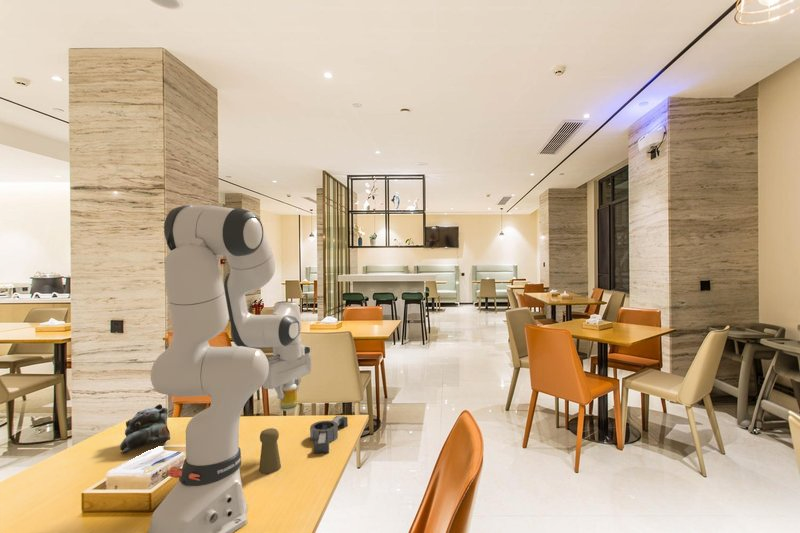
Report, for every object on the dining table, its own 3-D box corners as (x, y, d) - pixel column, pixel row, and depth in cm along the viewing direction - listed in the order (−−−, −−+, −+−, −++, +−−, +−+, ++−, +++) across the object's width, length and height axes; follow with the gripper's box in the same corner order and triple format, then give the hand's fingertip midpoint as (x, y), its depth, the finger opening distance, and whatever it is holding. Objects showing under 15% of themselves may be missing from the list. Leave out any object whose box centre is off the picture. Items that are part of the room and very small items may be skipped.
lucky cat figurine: (109, 457, 121) (110, 411, 127) (137, 455, 132) (137, 414, 138) (155, 442, 121) (154, 397, 127) (180, 441, 132) (178, 400, 138)
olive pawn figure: (274, 474, 108) (273, 434, 108) (254, 472, 109) (253, 433, 110) (284, 464, 114) (284, 426, 114) (266, 462, 115) (265, 425, 116)
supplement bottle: (277, 408, 125) (276, 378, 125) (292, 404, 128) (292, 375, 128) (283, 412, 121) (283, 381, 121) (300, 408, 124) (299, 378, 124)
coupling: (324, 456, 118) (324, 442, 119) (292, 449, 123) (291, 437, 123) (361, 427, 140) (360, 416, 140) (331, 423, 144) (331, 412, 144)
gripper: (273, 359, 114) (273, 406, 114) (314, 346, 133) (315, 387, 132) (256, 358, 116) (257, 404, 116) (299, 345, 135) (299, 385, 135)
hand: (288, 395), depth 124 cm, fingers closed on supplement bottle, 5 cm apart
